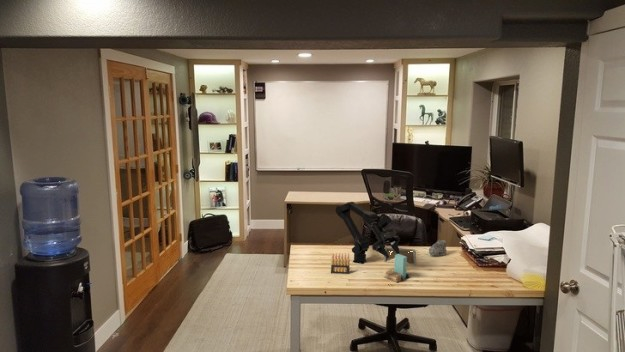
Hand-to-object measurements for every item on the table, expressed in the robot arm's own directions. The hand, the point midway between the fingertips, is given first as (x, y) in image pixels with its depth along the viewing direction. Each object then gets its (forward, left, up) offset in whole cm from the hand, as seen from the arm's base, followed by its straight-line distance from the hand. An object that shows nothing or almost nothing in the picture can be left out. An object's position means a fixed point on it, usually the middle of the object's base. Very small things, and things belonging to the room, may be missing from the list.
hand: (393, 255), depth 243 cm
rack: (+3, -4, -12) cm, 13 cm away
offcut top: (+2, -7, -8) cm, 11 cm away
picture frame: (-4, +31, -12) cm, 34 cm away
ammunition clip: (-28, -11, -12) cm, 32 cm away
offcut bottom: (+2, -7, -11) cm, 13 cm away
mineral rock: (+17, +46, -12) cm, 50 cm away
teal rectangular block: (+4, -2, -11) cm, 12 cm away
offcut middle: (+2, -7, -9) cm, 12 cm away
